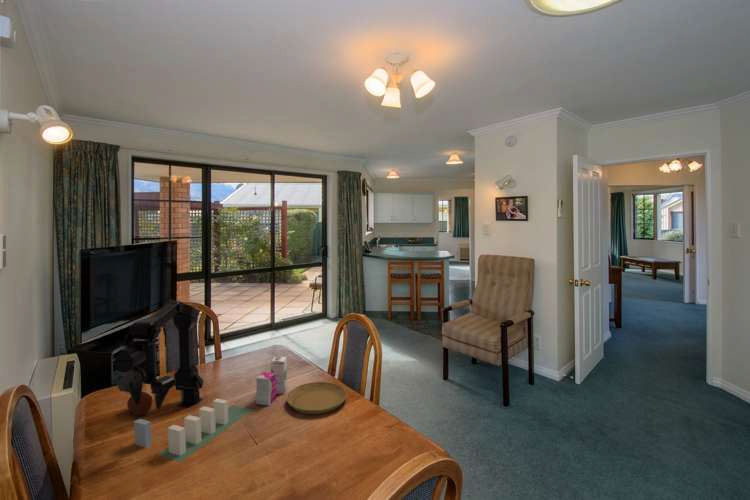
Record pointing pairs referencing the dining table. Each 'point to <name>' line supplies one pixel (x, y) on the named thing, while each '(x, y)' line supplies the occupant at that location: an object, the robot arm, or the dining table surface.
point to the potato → (140, 404)
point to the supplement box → (266, 389)
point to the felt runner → (233, 416)
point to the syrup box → (280, 373)
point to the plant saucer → (316, 397)
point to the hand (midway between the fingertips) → (147, 406)
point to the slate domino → (143, 433)
